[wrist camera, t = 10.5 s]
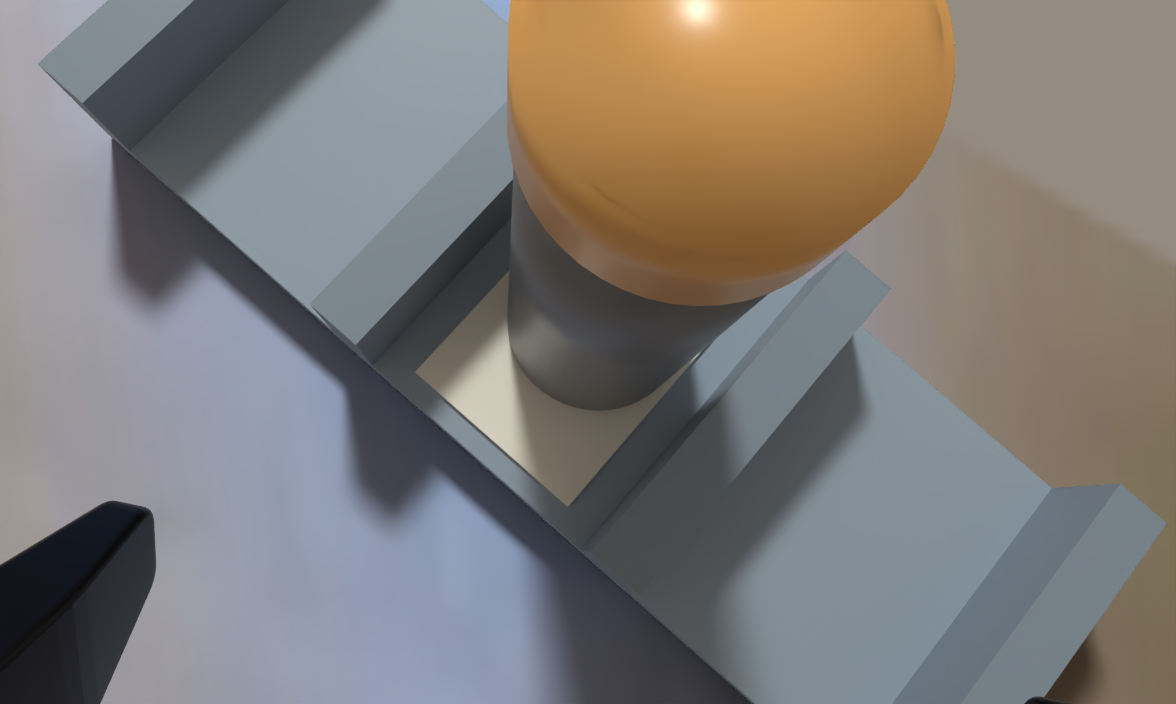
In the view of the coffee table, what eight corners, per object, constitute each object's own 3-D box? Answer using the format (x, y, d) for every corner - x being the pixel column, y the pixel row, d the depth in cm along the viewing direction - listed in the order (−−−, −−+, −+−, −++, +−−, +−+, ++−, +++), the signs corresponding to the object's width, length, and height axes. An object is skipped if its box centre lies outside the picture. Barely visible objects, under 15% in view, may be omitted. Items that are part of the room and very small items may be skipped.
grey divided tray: (860, 799, 22) (933, 854, 18) (110, 136, 23) (37, 63, 19) (1063, 523, 23) (1166, 523, 20) (350, -88, 24) (323, -195, 21)
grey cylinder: (678, 428, 22) (939, 291, 9) (488, 399, 21) (474, 216, 9) (701, 246, 22) (969, -124, 10) (518, 216, 22) (544, -203, 9)
